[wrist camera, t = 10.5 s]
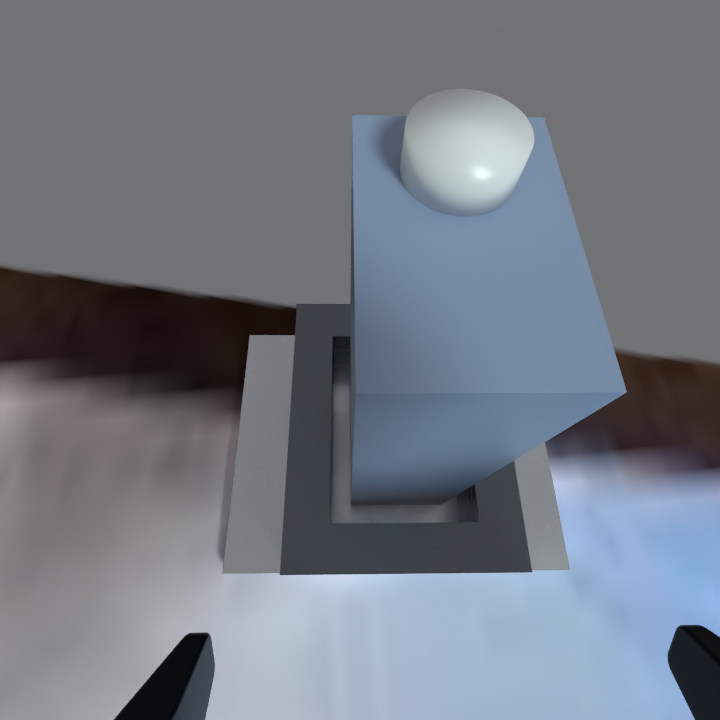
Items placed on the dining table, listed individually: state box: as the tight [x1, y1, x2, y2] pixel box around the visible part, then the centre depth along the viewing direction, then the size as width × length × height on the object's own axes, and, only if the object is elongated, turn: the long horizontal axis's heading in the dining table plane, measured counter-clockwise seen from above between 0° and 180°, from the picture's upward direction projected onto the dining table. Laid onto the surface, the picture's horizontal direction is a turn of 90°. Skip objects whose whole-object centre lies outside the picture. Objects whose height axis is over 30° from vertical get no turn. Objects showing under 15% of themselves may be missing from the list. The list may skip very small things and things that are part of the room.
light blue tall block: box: [350, 89, 627, 506], centre depth 12 cm, size 6×4×13 cm, turn 1°
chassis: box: [222, 304, 570, 575], centre depth 17 cm, size 10×13×4 cm
